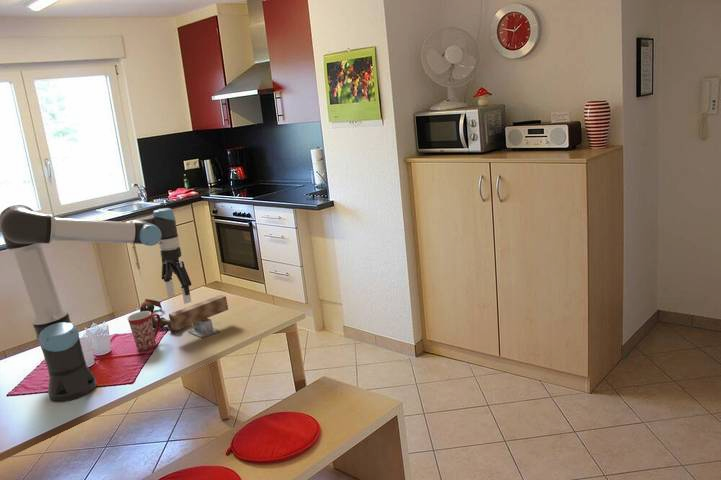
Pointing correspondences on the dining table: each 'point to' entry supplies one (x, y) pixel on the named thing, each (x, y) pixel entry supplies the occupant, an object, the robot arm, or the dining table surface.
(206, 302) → the walnut bar
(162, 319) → the kendama
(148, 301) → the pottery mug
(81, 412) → the dining table surface
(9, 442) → the dining table surface
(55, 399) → the robot arm
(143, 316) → the mug
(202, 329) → the fulcrum
